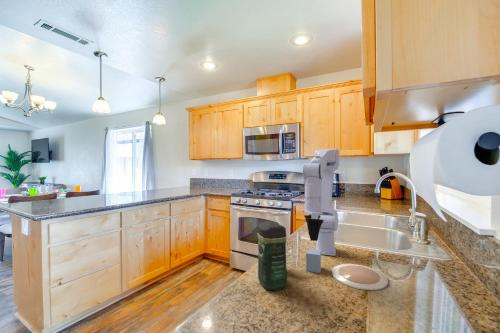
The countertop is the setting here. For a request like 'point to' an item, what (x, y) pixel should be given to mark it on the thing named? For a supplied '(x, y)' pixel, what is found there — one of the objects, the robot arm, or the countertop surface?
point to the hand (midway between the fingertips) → (312, 238)
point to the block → (313, 260)
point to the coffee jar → (272, 255)
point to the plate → (360, 277)
